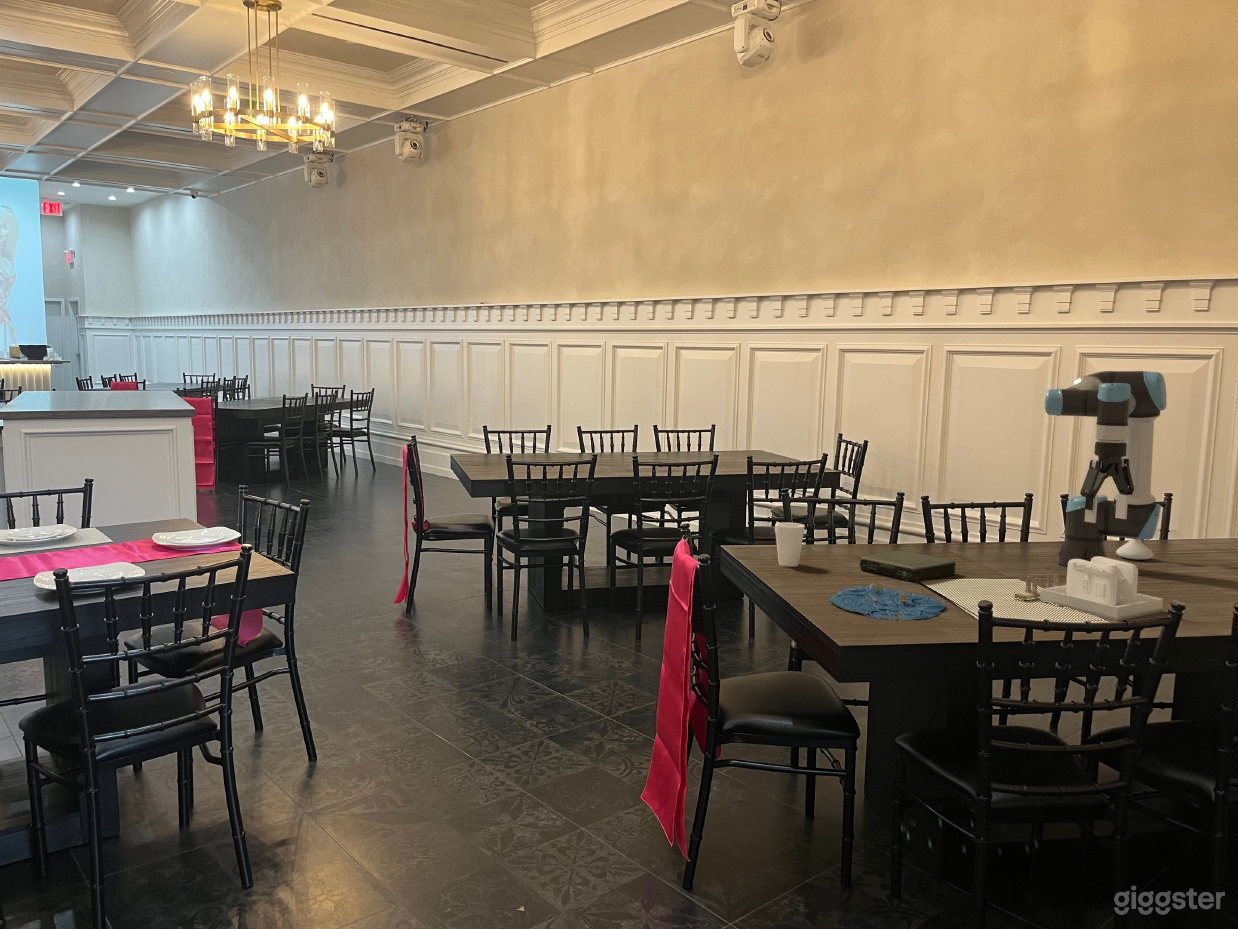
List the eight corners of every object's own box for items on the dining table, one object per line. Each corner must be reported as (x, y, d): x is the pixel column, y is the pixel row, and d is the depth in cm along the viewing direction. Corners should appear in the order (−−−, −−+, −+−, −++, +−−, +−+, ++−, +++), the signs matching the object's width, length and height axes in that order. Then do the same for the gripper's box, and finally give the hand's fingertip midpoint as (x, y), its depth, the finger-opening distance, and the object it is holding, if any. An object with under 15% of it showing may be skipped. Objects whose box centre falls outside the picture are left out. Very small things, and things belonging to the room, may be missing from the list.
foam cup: (792, 560, 301) (793, 521, 300) (809, 566, 293) (810, 526, 292) (768, 562, 297) (769, 523, 296) (784, 568, 289) (786, 528, 288)
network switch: (959, 574, 285) (960, 559, 285) (924, 586, 269) (924, 569, 268) (891, 563, 302) (892, 548, 301) (854, 573, 286) (854, 557, 285)
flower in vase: (1145, 563, 305) (1150, 489, 302) (1109, 557, 314) (1114, 485, 311) (1161, 558, 313) (1166, 486, 310) (1126, 553, 322) (1131, 483, 319)
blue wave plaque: (970, 623, 233) (972, 604, 233) (862, 627, 227) (864, 607, 226) (910, 591, 262) (911, 574, 261) (813, 594, 256) (814, 576, 255)
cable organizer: (1139, 609, 241) (1142, 565, 240) (1108, 612, 237) (1111, 568, 236) (1092, 595, 255) (1095, 554, 254) (1063, 598, 251) (1065, 556, 250)
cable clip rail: (1076, 588, 267) (1078, 568, 266) (1086, 590, 264) (1087, 570, 264) (1014, 599, 253) (1015, 577, 252) (1023, 601, 250) (1025, 580, 250)
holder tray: (1084, 593, 261) (1085, 581, 260) (1161, 611, 242) (1162, 598, 241) (1039, 601, 251) (1040, 589, 250) (1116, 620, 232) (1117, 607, 231)
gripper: (1125, 438, 251) (1119, 514, 253) (1068, 441, 239) (1063, 521, 241) (1152, 440, 245) (1146, 518, 247) (1095, 443, 232) (1090, 525, 234)
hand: (1105, 520), depth 244 cm, fingers open, 13 cm apart
